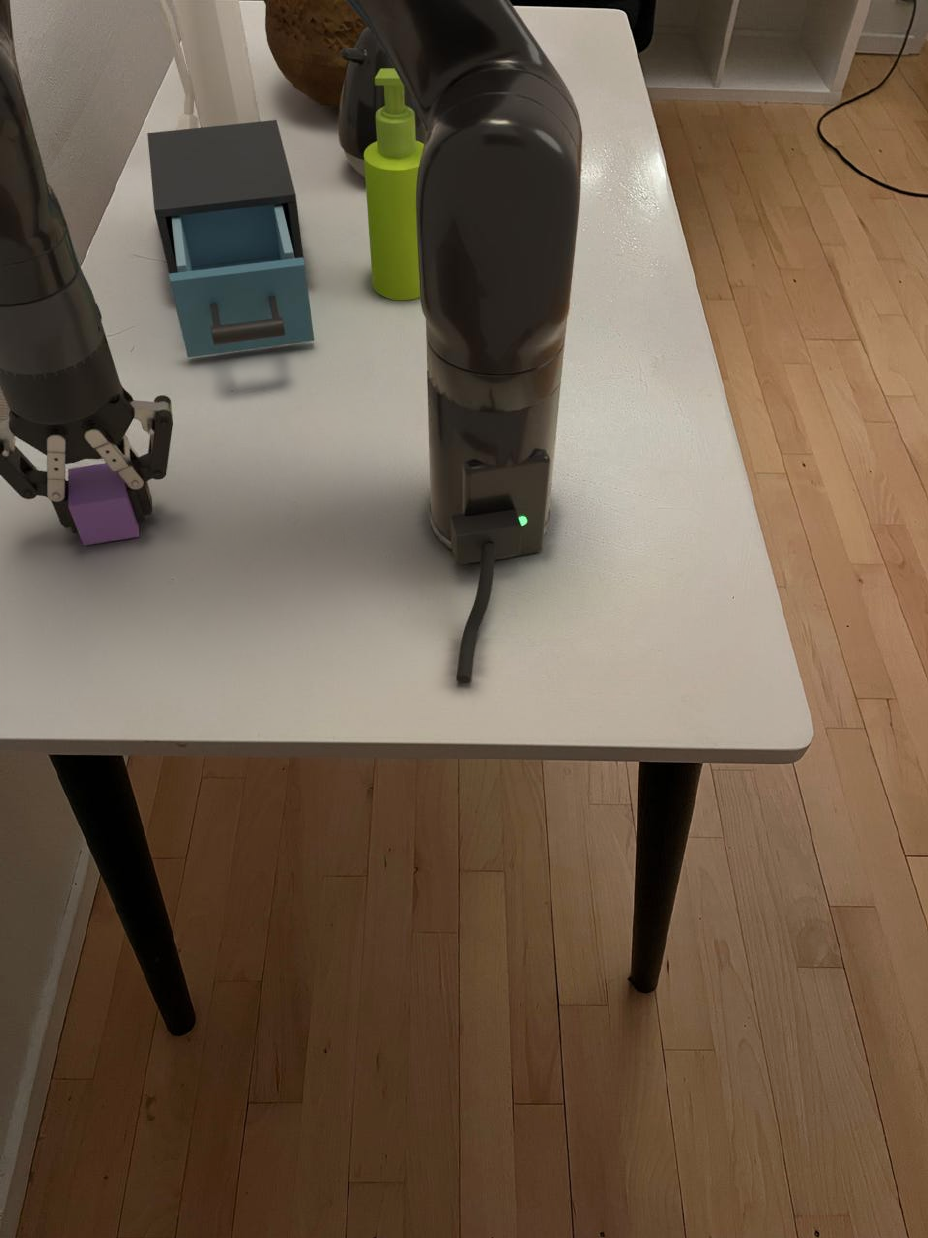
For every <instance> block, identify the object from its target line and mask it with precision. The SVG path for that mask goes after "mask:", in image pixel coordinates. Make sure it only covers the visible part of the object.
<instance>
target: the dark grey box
mask: <svg viewBox="0 0 928 1238" xmlns="http://www.w3.org/2000/svg"><path fill="white" fill-rule="evenodd" d="M146 135H147V145H148V156H149V167H150V176H151V178H150V179H151V190H152V200H153V211H154V215H155V219H156V223H157V228H158V232H159V237H160V242H161V245H162V248H163V253H164V257H165V261H166V266H167V270H168V275H169V274H170V273H178V269H177V264H176V255H175V246H174V236H173V227H172V218H171V216H177V215H186V214H195V213H203V212H212V211H221V210H229V209H238V208H247V207H256V206H264V205H273V204H282V206H283V211H284V215H285V219H286V223H287V227H288V232H289V236H290V240H291V244H292V248H293V253H294V258H301V257H303V259H305V258H304V251H303V243H302V236H301V228H300V218H299V211H298V204H297V203H298V202H297V195H296V192H295V187H294V183H293V180H292V175H291V170H290V168H289V163H288V159H287V156H286V152H285V149H284V143H283V139H282V137H281V131H280V128H279V123H278V120H276V119H271V120H263V121H262V120H260V122H251V123H241V124H232V125H222V126H212V127H202V128H201V127H198V128H193V129H183V130H176V129H173V130H165V131H163V130H162V131H155V132H154V131H153V132H147V134H146Z"/></svg>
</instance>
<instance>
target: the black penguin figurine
mask: <svg viewBox="0 0 928 1238" xmlns="http://www.w3.org/2000/svg"><path fill="white" fill-rule="evenodd" d="M341 57H342V59H344V60H348V62H347V66H346V70H345V74H344V79H343V84H342V90H341V96H340V106H339V108H338V122H337V124H338V125H337V126H338V127H337V130H338V134H337V135H338V142H339V145H340V147H341V149H342V150H343V153H344V155H345V157H346V159H347V161H348V163H349V164H350V166H351V167H352V168H353V169H354V171H356V172H357V174H359V175H360V176H362V177H363V178H365V165H364V151H365V150H366V148H367V147H368V146H369V145H371V144H372V143H374V142H377V130H376V112H377V111H378V110H379V109H380V108H382V107H384V106H385V97H384V86H381V85H375V77H376V76H377V74H378V72H379V70H380V69H394V67H393V65H392V64H391V62H390V60H389V59H388V57H387V55H386V54H385V52H384V50H383V49H382V47H381V45H380V44H379V42H378V41H377V39H376V38H375V36H374V35H373V33H372V32H371V30H370V29H369V28H368V27H366V28H365V29H364V30H363V31H362V32H361V33H360V34H359V36H358V37H357V39H356V41H355V43H354V45H353V47H352V48H343V49H342V50H341ZM404 99H405V106H407V107H409V108H411V109H412V110H413V111H414V113H415V136H416V141H419V142H421V143H423V144H424V143H425V138H426V131H425V128H424V126H423V123H422V121H421V119H420V117H419V115H418V112H417V110H416V108H415V106H414V104H413V102H412V100H411V98H410V96H409V94H408V92H407V90H406V89H405V87H404Z"/></svg>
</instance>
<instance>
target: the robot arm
mask: <svg viewBox="0 0 928 1238" xmlns="http://www.w3.org/2000/svg"><path fill="white" fill-rule="evenodd" d="M345 1H346V2H347V3H348V4H349V5H350V6H351V7H352V8H353V10H354V11H355V12H356V13H357V14H358V15H359V16H360V17H361V19H362V20H363V21H364V23H365V24H366V25H367V27H368V28H369V29H370V30H371V32H372V33H373V35H374V36H375V38H376V39H377V41H378V42H379V44H380V45H381V47H382V49H383V50H384V52H385V54H386V55H387V57H388V59H389V60H390V62H391V64H392V65H393V67H394V69H395V71H396V72H397V74H398V76H399V78H400V80H401V81H402V83H403V85H404V87H405V89H406V90H407V92H408V94H409V96H410V98H411V100H412V102H413V104H414V106H415V108H416V110H417V112H418V115H419V117H420V119H421V121H422V123H423V126H424V128H425V131H426V138H425V143H424V147H423V151H422V155H421V160H420V164H419V168H418V174H417V184H416V221H417V244H418V263H419V281H420V297H419V299H420V307H421V310H422V313H423V316H424V318H425V332H426V333H425V334H426V335H425V336H426V337H425V338H426V341H425V342H426V383H427V384H426V385H427V386H426V387H427V419H428V420H427V421H428V422H427V423H428V456H429V457H428V458H429V486H430V504H429V522H430V525H431V528H432V531H433V533H434V534H435V535H436V537H437V538H438V539H439V540H440V542H441V543H442V544H443V545H445V546H446V547H447V548H449V549H450V550H451V551H452V553H453V557H454V560H455V564H456V565H457V566H460V565H465V564H466V565H470V564H471V565H472V564H477V563H479V564H480V567H479V576H478V578H479V579H478V584H477V588H476V589H477V590H476V594H475V599H474V602H473V605H472V608H471V611H470V613H469V615H468V617H467V620H466V623H465V626H464V630H463V634H462V637H461V643H460V648H459V654H458V662H457V663H458V664H457V671H456V677H455V678H456V681H457V682H458V683H460V684H463V685H466V684H470V682H471V681H472V672H473V663H474V655H475V649H476V642H477V638H478V634H479V630H480V628H481V625H482V623H483V620H484V618H485V616H486V612H487V609H488V607H489V603H490V600H491V594H492V589H493V582H494V573H495V562H496V560H502V559H503V560H504V559H509V558H513V557H518V556H523V555H529V554H536V553H540V552H542V551H543V550H544V540H545V539H544V538H545V535H546V533H547V531H548V528H549V525H550V519H551V508H550V504H551V494H552V485H553V484H552V481H553V469H554V460H555V448H556V439H557V427H558V415H559V407H560V406H559V404H560V396H561V395H560V394H561V386H562V385H561V383H562V377H563V376H562V375H563V365H564V354H565V343H566V335H567V325H568V317H569V314H570V307H571V297H572V296H571V294H572V285H573V283H572V282H573V276H574V267H575V266H574V265H575V256H576V247H577V237H578V226H579V217H580V216H579V215H580V205H581V204H580V203H581V184H582V180H581V179H582V163H583V161H582V160H583V130H582V125H581V118H580V114H579V110H578V108H577V104H576V103H575V100H574V98H573V95H572V93H571V91H570V89H569V88H568V86H567V85H566V83H565V81H564V80H563V79H562V77H561V75H560V74H559V72H558V70H557V69H556V67H555V66H554V65H553V63H552V62H551V60H550V58H549V57H548V55H547V54H546V52H545V51H544V49H543V48H542V47H541V45H540V44H539V43H538V41H537V40H536V38H535V37H534V35H533V34H532V32H531V31H530V29H529V27H528V26H527V25H526V24H525V22H524V20H523V19H522V17H521V16H520V14H519V13H518V11H517V9H516V8H515V7H514V5H513V4H512V2H511V1H510V0H345ZM47 179H48V178H47V175H46V171H45V167H44V163H43V159H42V156H41V152H40V149H39V145H38V141H37V138H36V133H35V130H34V127H33V123H32V119H31V115H30V111H29V108H28V104H27V99H26V95H25V92H24V88H23V83H22V80H21V75H20V70H19V65H18V60H17V55H16V46H15V39H14V30H13V22H12V9H11V0H0V391H1V392H2V395H3V397H4V399H5V402H6V404H7V407H8V409H9V412H8V418H6V419H3V420H1V421H0V476H1V477H2V478H3V479H4V480H5V482H6V483H7V484H8V485H9V486H10V487H11V488H12V489H13V490H14V491H15V492H16V493H17V494H18V495H19V496H20V497H21V498H23V499H25V500H33V499H36V497H37V496H39V497H44V498H47V499H48V500H50V501H51V503H52V506H53V509H54V511H55V514H56V516H57V518H58V520H59V523H60V525H61V526H63V527H64V528H65V529H69V528H70V529H71V532H72V533H73V534H79V532H78V530H77V527H76V525H75V522H74V520H73V517H72V515H71V512H70V510H69V507H68V479H66V465H68V464H75V463H79V462H81V461H84V460H102V459H103V461H104V463H107V465H108V466H109V467H110V468H111V470H112V471H113V472H114V473H115V472H117V473H118V474H119V475H120V477H121V478H122V479H123V481H124V482H125V483H126V484H127V493H128V496H129V499H130V502H131V505H132V508H133V511H134V514H135V517H136V520H137V523H139V524H142V523H147V521H148V520H147V516H152V514H153V496H152V493H151V490H150V487H149V484H148V481H150V480H152V479H154V480H156V481H157V480H158V481H159V480H163V479H164V478H166V476H167V473H168V463H169V456H170V449H171V441H172V435H173V427H174V419H173V418H174V417H173V408H172V399H171V398H170V397H169V396H167V395H165V394H164V395H163V394H161V395H157V396H155V398H154V399H153V401H147V400H135V399H134V397H133V396H132V395H131V394H130V393H129V392H128V391H127V390H126V389H125V388H124V386H123V385H122V382H121V381H120V377H119V374H118V371H117V367H116V365H115V360H114V358H113V355H112V354H113V353H112V352H111V348H110V345H109V342H108V339H107V334H106V332H105V329H104V326H103V322H102V319H103V317H102V313H101V310H100V308H99V305H98V304H97V302H96V300H95V296H94V294H93V291H92V289H91V287H90V284H89V282H88V280H87V278H86V275H85V274H84V271H83V269H82V267H81V264H80V262H79V258H78V255H77V252H76V248H75V246H74V241H73V239H72V236H71V233H70V230H69V226H68V224H67V221H66V217H65V214H64V212H63V209H62V206H61V204H60V202H59V199H58V197H57V194H56V192H55V191H54V189H53V188H52V186H51V185H50V183H49V182H48V180H47ZM134 420H138V421H139V422H140V423H141V428H142V429H143V430H144V432H146V433H147V435H149V438H148V448H147V449H148V450H147V452H146V453H145V454H142V455H141V456H140V455H139V454H138V453H137V451H136V450H135V448H133V446H132V444H131V443H130V439H129V437H128V436H127V431H128V430H129V428H130V426H131V424H132V422H133V421H134ZM16 438H17V439H18V440H21V441H22V442H24V443H25V444H27V445H29V446H30V447H32V448H34V449H35V450H37V451H39V452H40V453H42V454H43V455H45V456H46V470H38V468H37V467H36V466H35V465H34V464H33V463H32V461H30V459H28V457H27V456H26V455H25V454H24V453H23V452H22V451H21V450H20V449H19V448H18V446H17V445H16Z"/></svg>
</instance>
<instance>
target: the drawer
mask: <svg viewBox="0 0 928 1238" xmlns="http://www.w3.org/2000/svg"><path fill="white" fill-rule="evenodd" d="M171 218H172V227H173V236H174V246H175V255H176V264H177V269H178V273H170V274H169V273H168V279H169V285H170V289H171V293H172V297H173V302H174V306H175V310H176V314H177V319H178V322H179V327H180V331H181V335H182V340H183V344H184V347H185V352H186V356H187V358H196V357H203V356H209V355H210V356H211V355H216V354H225V353H231V352H241V351H247V350H254V349H255V350H256V349H262V348H269V347H270V348H271V347H276V346H284V345H291V344H299V343H300V344H301V343H306V342H307V343H308V342H313V341H315V334H314V325H313V317H312V311H311V309H312V308H311V302H310V295H309V294H310V292H309V285H308V278H307V269H306V264H305V260H304V259H305V258H304V256H303V257H301V258H294V253H293V248H292V244H291V240H290V236H289V232H288V227H287V223H286V219H285V215H284V211H283V206H282V204H273V205H264V206H256V207H247V208H238V209H229V210H221V211H212V212H203V213H195V214H186V215H177V216H171ZM303 258H304V259H303Z"/></svg>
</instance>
